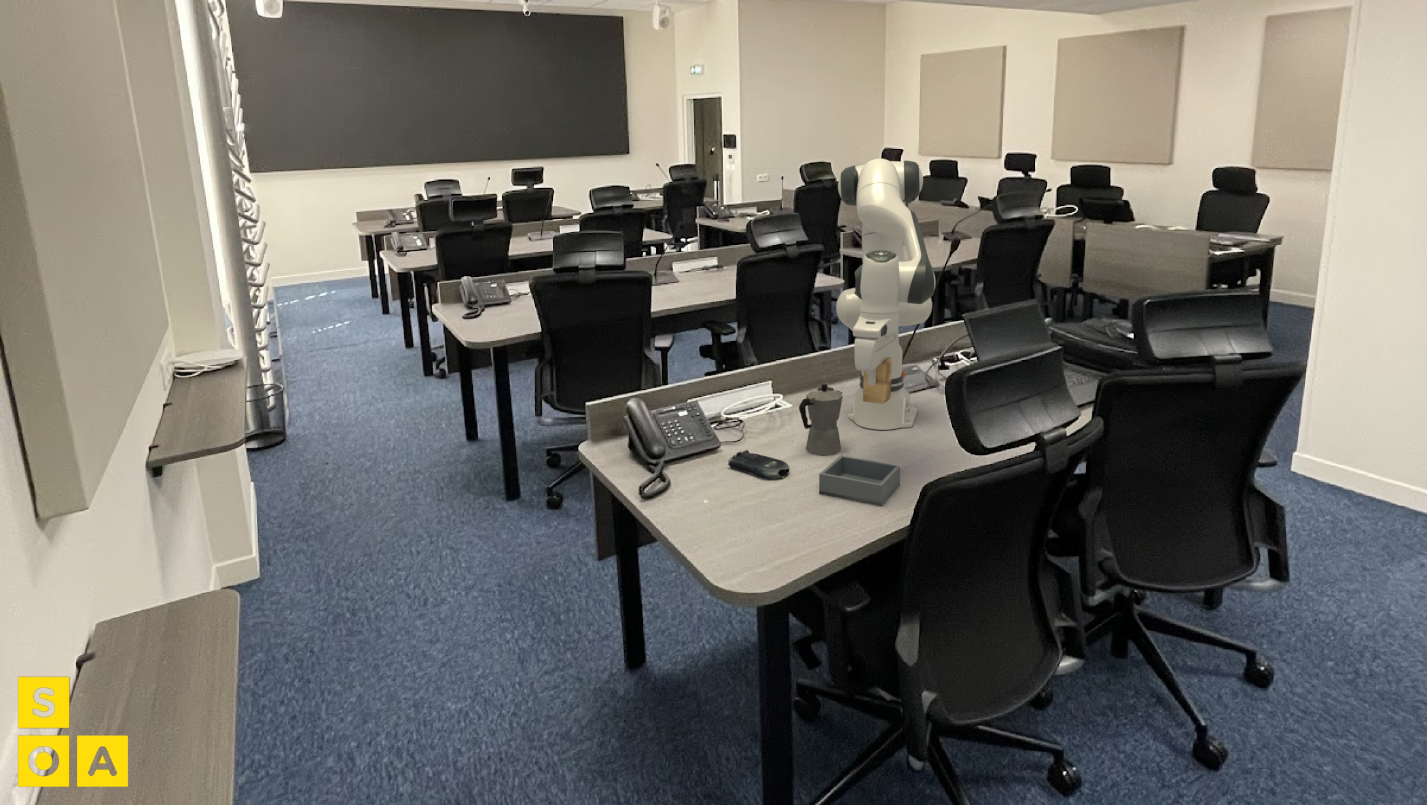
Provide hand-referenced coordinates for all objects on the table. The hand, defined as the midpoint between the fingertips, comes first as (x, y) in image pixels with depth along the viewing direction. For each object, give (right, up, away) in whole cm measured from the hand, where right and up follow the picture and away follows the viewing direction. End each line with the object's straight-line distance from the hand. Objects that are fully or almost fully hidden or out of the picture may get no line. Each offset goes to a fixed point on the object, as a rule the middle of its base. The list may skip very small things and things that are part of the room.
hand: (877, 381), depth 204 cm
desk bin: (-4, -25, 0) cm, 26 cm away
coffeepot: (-10, -18, +25) cm, 32 cm away
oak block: (0, -4, +1) cm, 5 cm away
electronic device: (-26, -22, +13) cm, 37 cm away
